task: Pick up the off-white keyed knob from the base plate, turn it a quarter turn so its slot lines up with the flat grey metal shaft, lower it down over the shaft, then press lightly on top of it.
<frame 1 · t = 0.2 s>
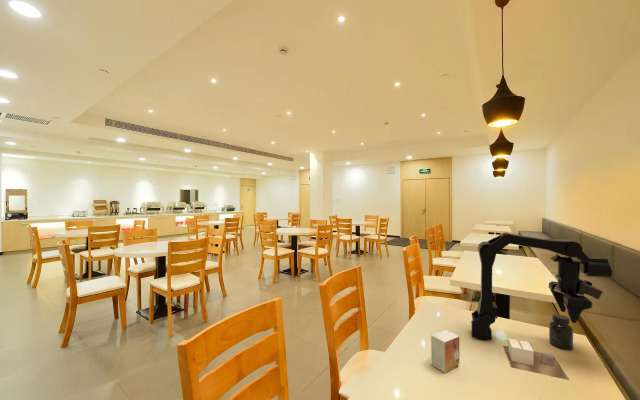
hand: (568, 316, 95), 14 cm above the table, tool pointing down, fingers open, 9 cm apart
keyed knob: (520, 358, 93), point 1 cm above the table, touching base plate
small box: (445, 365, 91), on the table
base plate: (532, 363, 91), on the table
shaft: (547, 363, 89), resting on base plate
supplement bottle: (561, 348, 100), on the table
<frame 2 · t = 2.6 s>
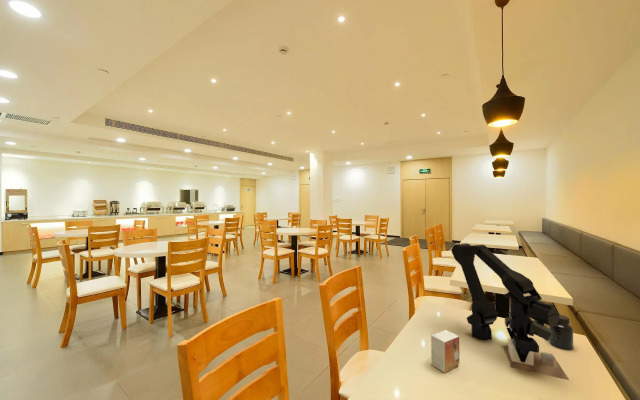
hand: (520, 356, 93), 2 cm above the table, tool pointing down, fingers closed on keyed knob, 6 cm apart
keyed knob: (520, 358, 93), point 1 cm above the table, touching base plate, gripper
everything else where it was.
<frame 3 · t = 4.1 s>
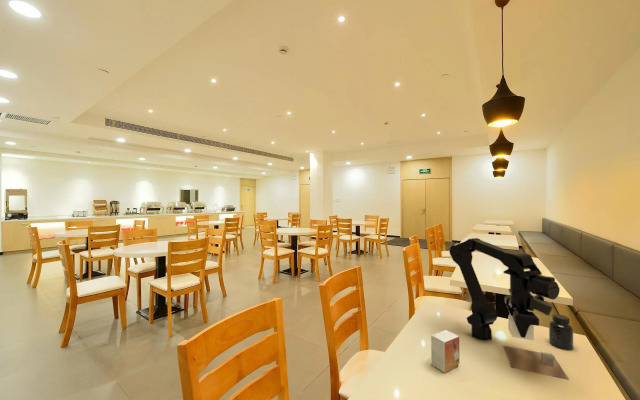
hand: (520, 332, 92), 10 cm above the table, tool pointing down, fingers closed on keyed knob, 6 cm apart
keyed knob: (520, 334, 92), point 10 cm above the table, touching gripper
everything else where it was.
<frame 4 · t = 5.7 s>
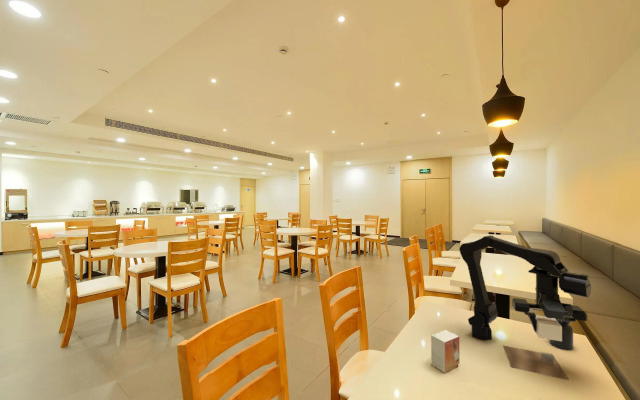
hand: (546, 333, 89), 12 cm above the table, tool pointing down, fingers closed on keyed knob, 6 cm apart
keyed knob: (547, 335, 89), point 11 cm above the table, touching gripper
everything else where it was.
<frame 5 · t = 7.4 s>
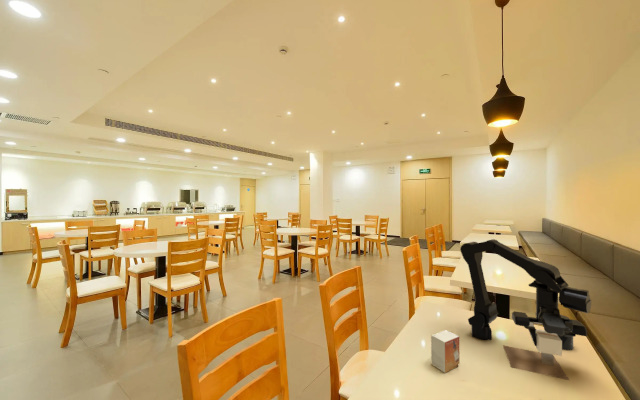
hand: (546, 347, 89), 7 cm above the table, tool pointing down, fingers closed on keyed knob, 6 cm apart
keyed knob: (547, 349, 89), point 6 cm above the table, touching gripper
everything else where it was.
when the fingers open (3 cm above the table, at t = 8.8 s): keyed knob stays where it is, resting on base plate.
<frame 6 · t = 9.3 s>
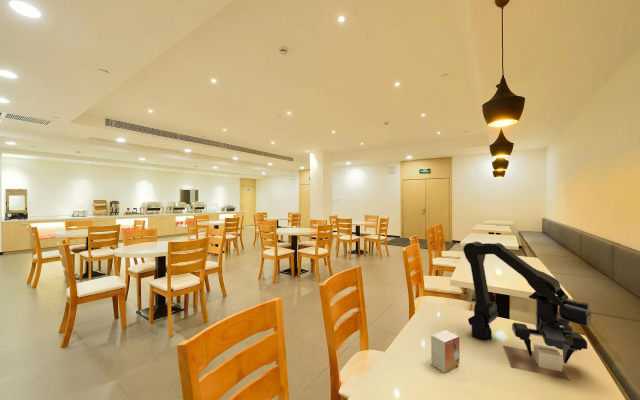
hand: (547, 359, 89), 3 cm above the table, tool pointing down, fingers open, 9 cm apart
keyed knob: (547, 363, 89), point 1 cm above the table, touching base plate
everything else where it was.
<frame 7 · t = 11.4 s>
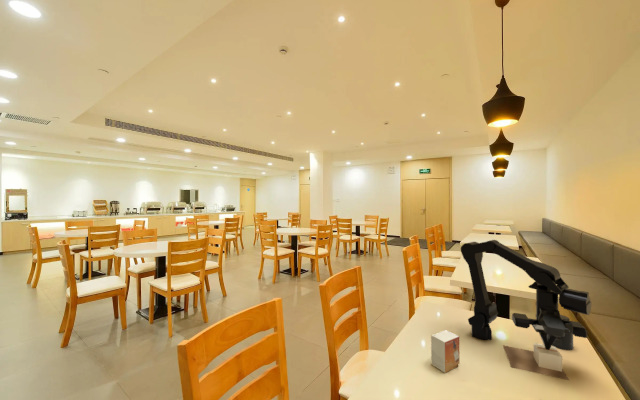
hand: (547, 349, 89), 6 cm above the table, tool pointing down, fingers closed, pressing on keyed knob
keyed knob: (547, 363, 89), point 1 cm above the table, touching base plate, gripper
everything else where it was.
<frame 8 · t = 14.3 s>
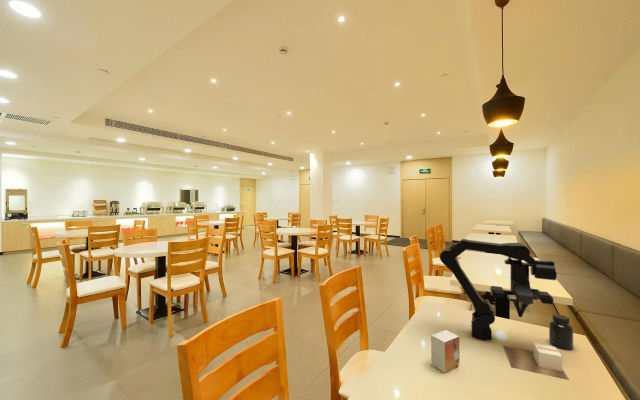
hand: (519, 316, 101), 12 cm above the table, tool pointing down, fingers closed
keyed knob: (547, 363, 89), point 1 cm above the table, touching base plate
everything else where it was.
at the end: keyed knob 0.0 cm off-centre on the shaft, point 0.0 cm above the shaft's base; the gripper is holding nothing; keyed knob tilted 0° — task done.
